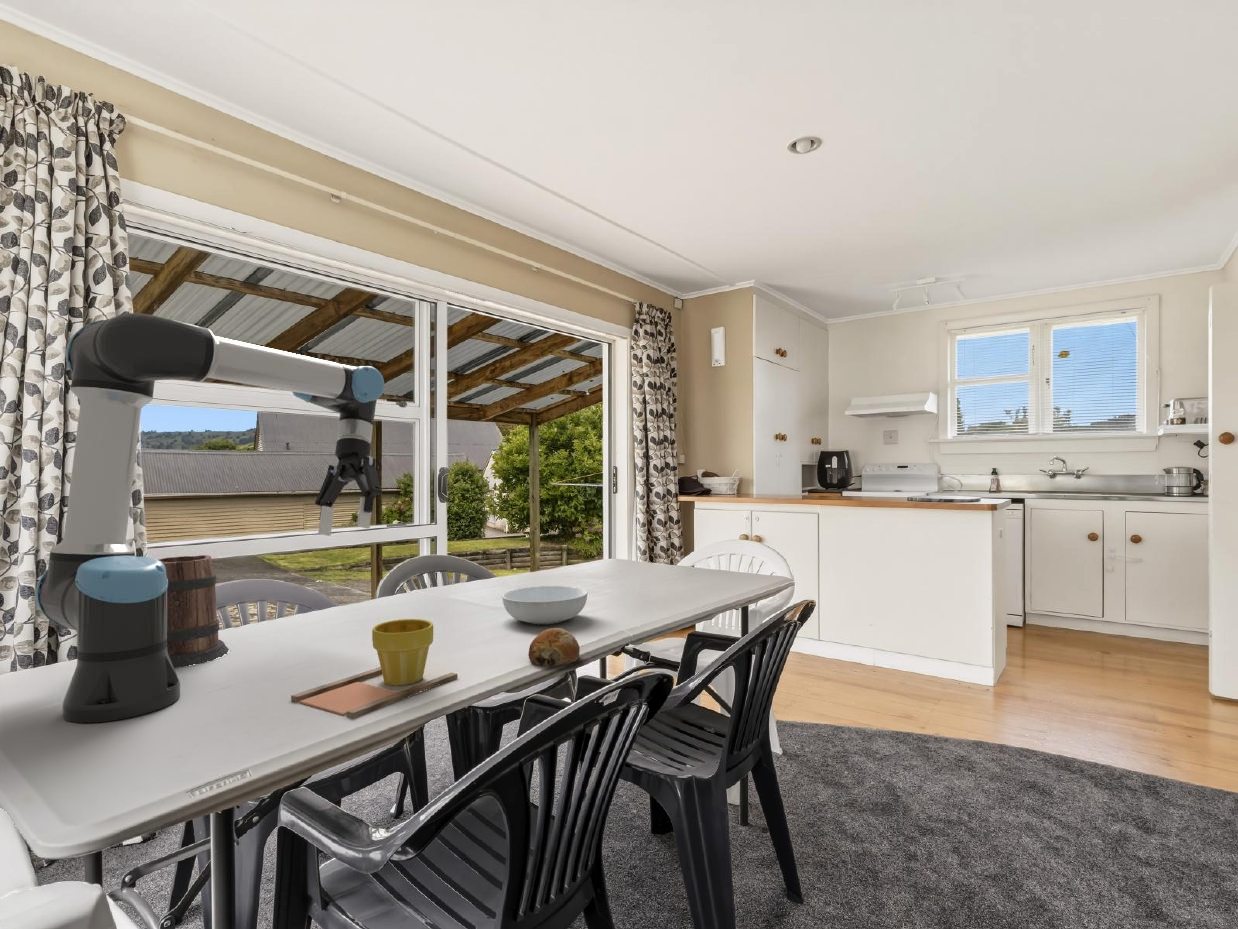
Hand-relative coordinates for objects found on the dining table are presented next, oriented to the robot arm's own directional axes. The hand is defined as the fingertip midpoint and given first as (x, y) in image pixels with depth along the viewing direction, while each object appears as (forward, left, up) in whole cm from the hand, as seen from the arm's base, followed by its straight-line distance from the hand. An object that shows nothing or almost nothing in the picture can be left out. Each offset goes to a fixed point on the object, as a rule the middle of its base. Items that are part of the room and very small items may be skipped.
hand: (343, 531), depth 150 cm
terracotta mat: (-25, -35, -24) cm, 49 cm away
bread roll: (+9, -51, -24) cm, 57 cm away
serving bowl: (+35, -29, -24) cm, 52 cm away
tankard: (-26, +19, -24) cm, 40 cm away
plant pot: (-14, -35, -24) cm, 45 cm away
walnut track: (-20, -35, -24) cm, 47 cm away
